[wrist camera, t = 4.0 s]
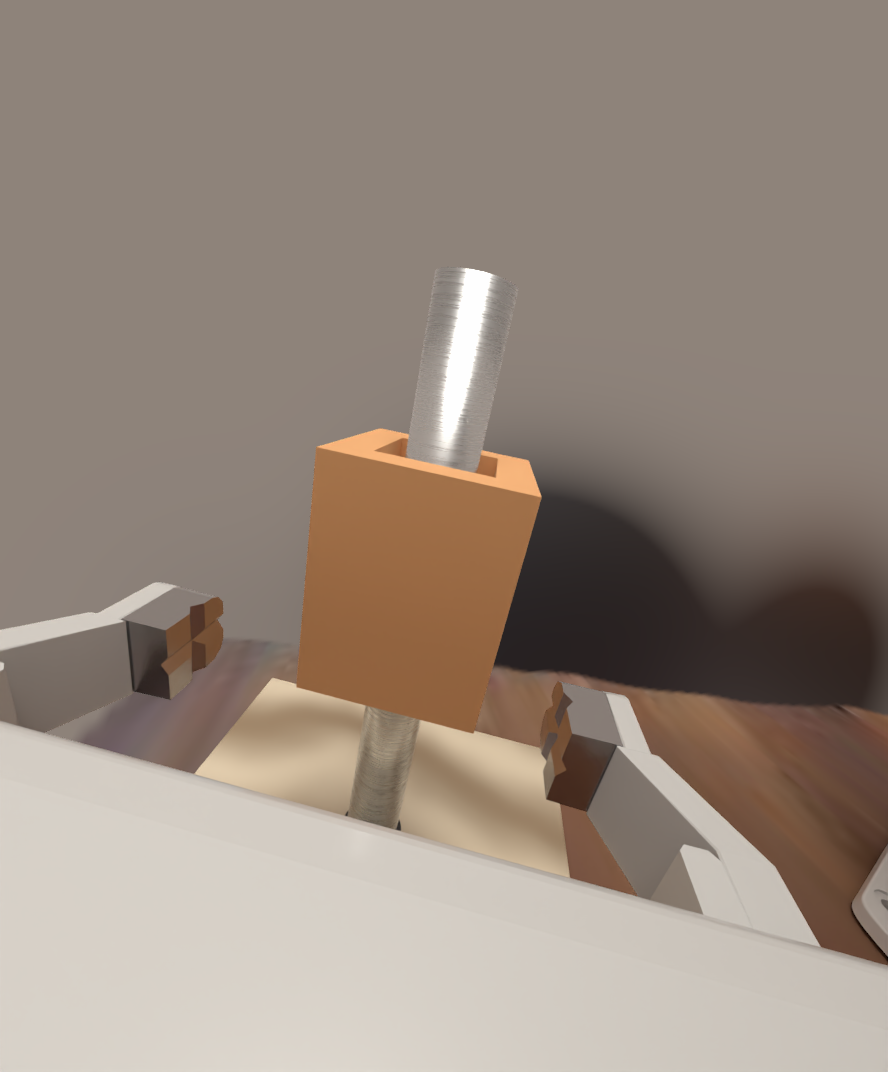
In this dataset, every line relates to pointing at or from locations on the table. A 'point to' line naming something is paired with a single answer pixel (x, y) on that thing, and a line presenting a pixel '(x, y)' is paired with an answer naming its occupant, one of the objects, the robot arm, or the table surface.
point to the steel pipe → (448, 440)
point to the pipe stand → (433, 783)
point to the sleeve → (410, 576)
